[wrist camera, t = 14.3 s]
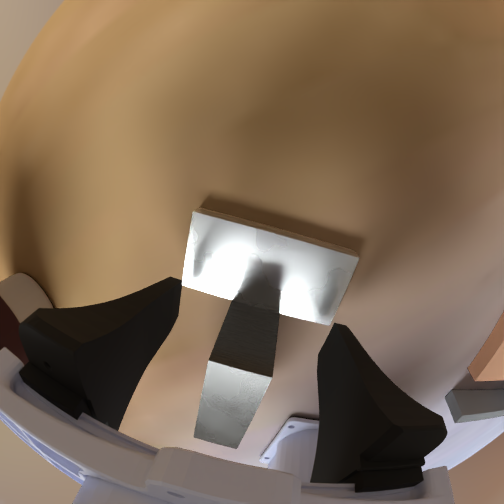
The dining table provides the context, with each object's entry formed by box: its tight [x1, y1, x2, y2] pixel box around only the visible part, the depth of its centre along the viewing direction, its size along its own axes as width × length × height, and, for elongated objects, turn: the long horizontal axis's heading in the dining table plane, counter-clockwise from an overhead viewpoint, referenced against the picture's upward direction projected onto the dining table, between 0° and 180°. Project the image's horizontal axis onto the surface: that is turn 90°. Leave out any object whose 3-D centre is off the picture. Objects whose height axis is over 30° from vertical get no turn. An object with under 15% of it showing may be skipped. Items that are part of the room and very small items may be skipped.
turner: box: [182, 207, 359, 449], centre depth 13 cm, size 11×8×6 cm
